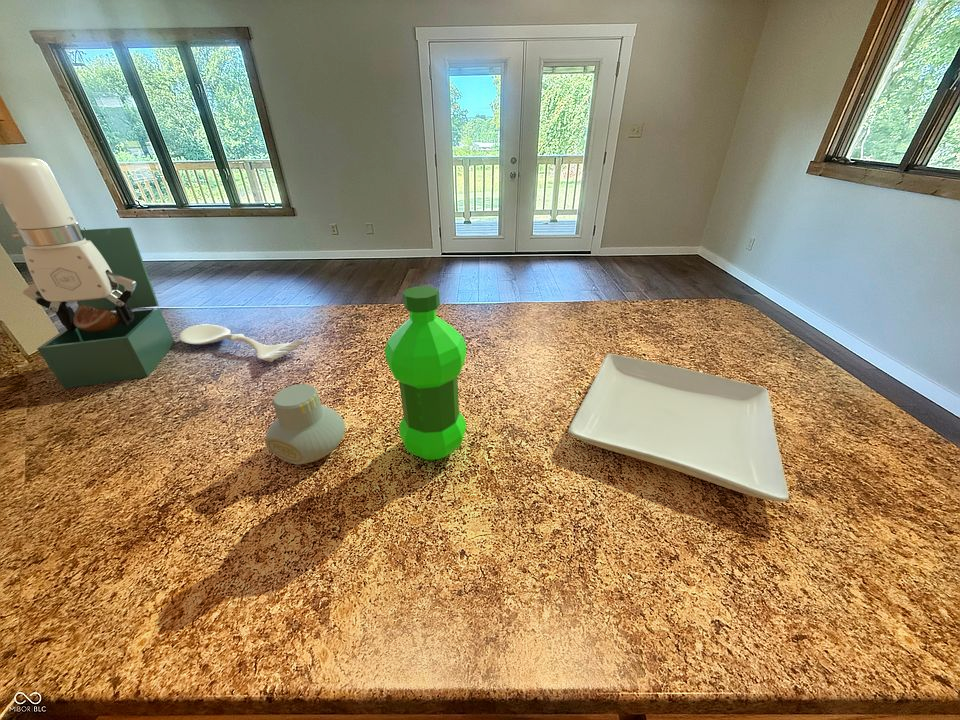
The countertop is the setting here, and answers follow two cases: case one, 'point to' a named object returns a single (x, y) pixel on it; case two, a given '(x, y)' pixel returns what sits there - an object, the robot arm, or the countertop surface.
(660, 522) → the countertop surface
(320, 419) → the air freshener
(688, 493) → the countertop surface
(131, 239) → the lid
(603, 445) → the square plate
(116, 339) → the open green box
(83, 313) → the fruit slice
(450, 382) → the plastic bottle
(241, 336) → the spoon
